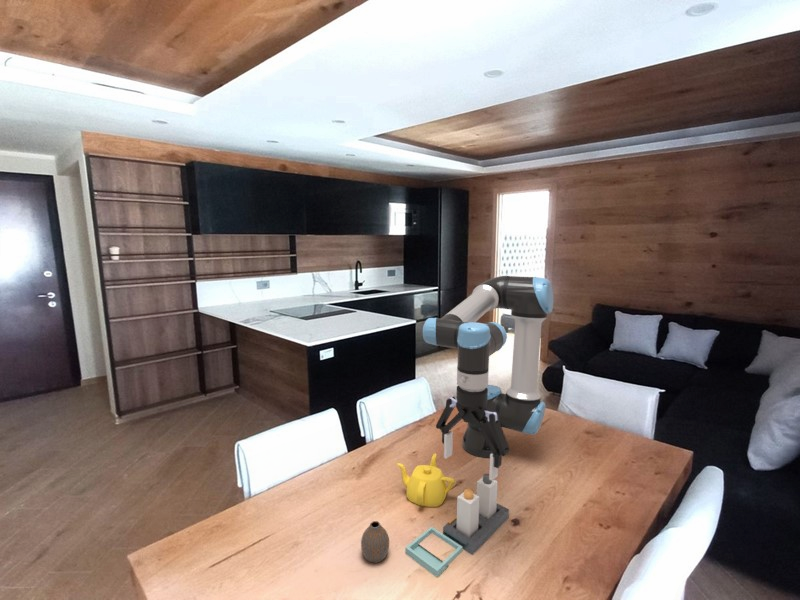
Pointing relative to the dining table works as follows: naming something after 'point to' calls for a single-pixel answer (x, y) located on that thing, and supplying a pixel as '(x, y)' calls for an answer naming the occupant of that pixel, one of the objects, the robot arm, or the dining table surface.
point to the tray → (428, 558)
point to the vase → (375, 542)
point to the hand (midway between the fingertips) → (469, 466)
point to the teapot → (426, 484)
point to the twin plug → (487, 496)
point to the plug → (467, 513)
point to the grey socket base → (483, 533)
